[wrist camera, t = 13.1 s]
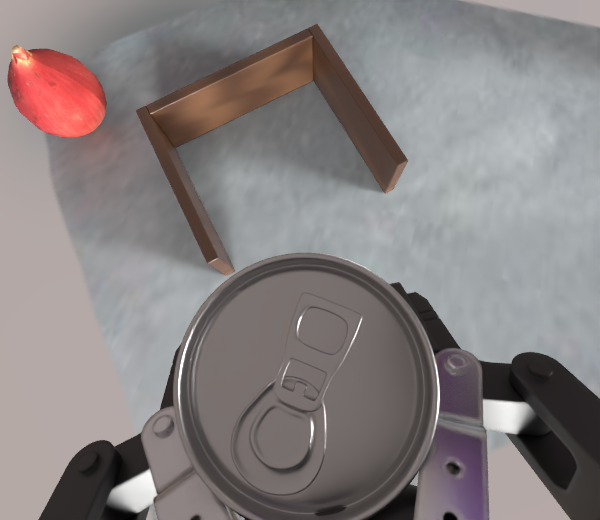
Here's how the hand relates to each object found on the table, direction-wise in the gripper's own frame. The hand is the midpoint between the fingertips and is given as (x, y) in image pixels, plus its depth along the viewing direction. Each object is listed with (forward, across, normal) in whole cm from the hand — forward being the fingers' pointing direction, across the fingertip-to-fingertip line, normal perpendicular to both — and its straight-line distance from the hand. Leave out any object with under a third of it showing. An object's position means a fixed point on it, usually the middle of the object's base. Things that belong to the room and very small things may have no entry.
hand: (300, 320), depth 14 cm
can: (+3, 0, +5) cm, 6 cm away
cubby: (+17, 0, -1) cm, 17 cm away
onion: (+23, +15, -6) cm, 28 cm away
